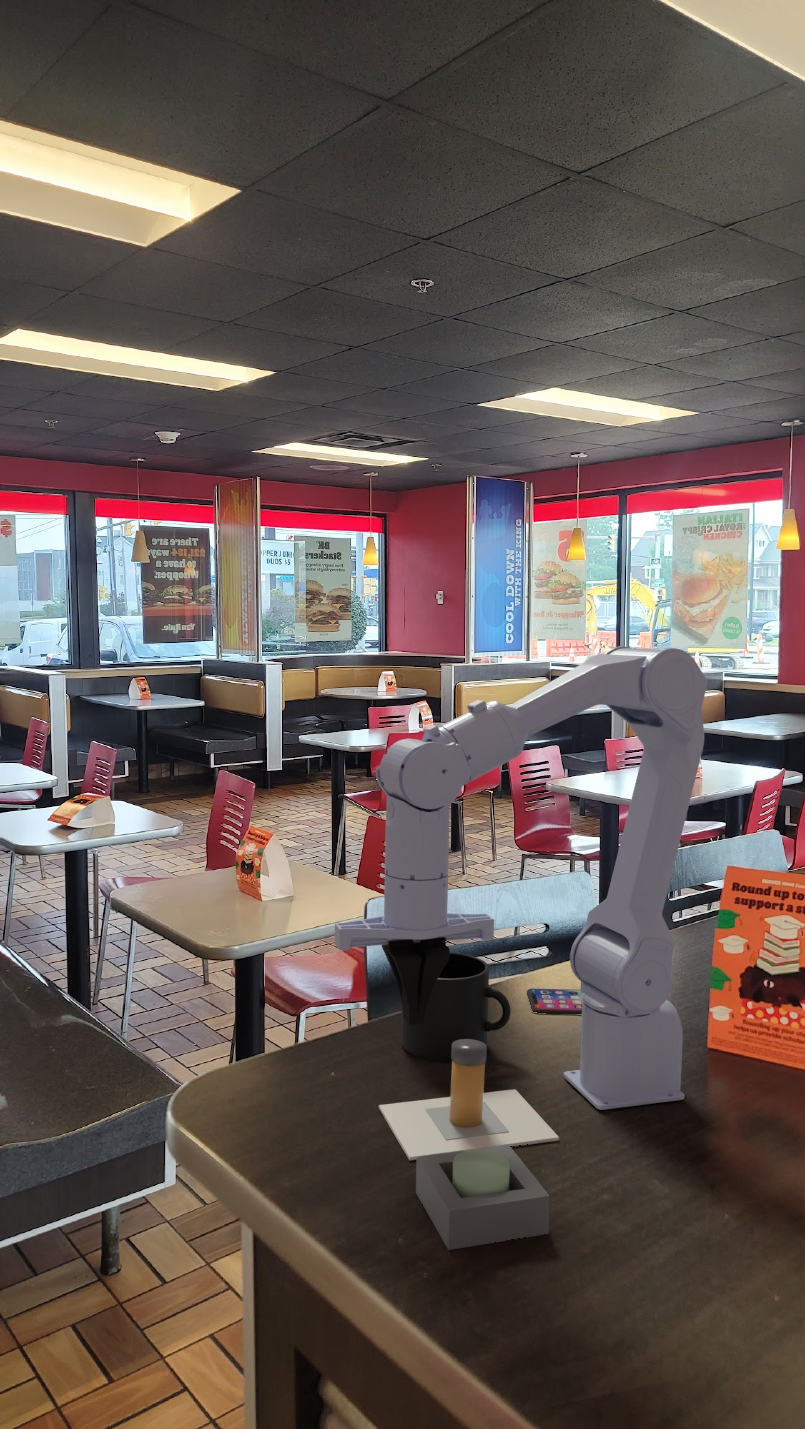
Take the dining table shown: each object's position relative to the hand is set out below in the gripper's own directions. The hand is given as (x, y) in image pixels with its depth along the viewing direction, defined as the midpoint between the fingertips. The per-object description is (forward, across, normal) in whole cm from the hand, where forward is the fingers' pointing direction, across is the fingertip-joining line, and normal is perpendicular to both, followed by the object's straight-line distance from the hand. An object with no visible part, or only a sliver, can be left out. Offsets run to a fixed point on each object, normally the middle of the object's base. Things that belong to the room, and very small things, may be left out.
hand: (413, 1020), depth 94 cm
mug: (+10, -10, -16) cm, 21 cm away
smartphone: (+10, -31, -24) cm, 41 cm away
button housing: (+10, -1, +15) cm, 18 cm away
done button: (+9, -1, +15) cm, 17 cm away
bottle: (+10, -5, +1) cm, 11 cm away
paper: (+10, -5, +1) cm, 11 cm away
